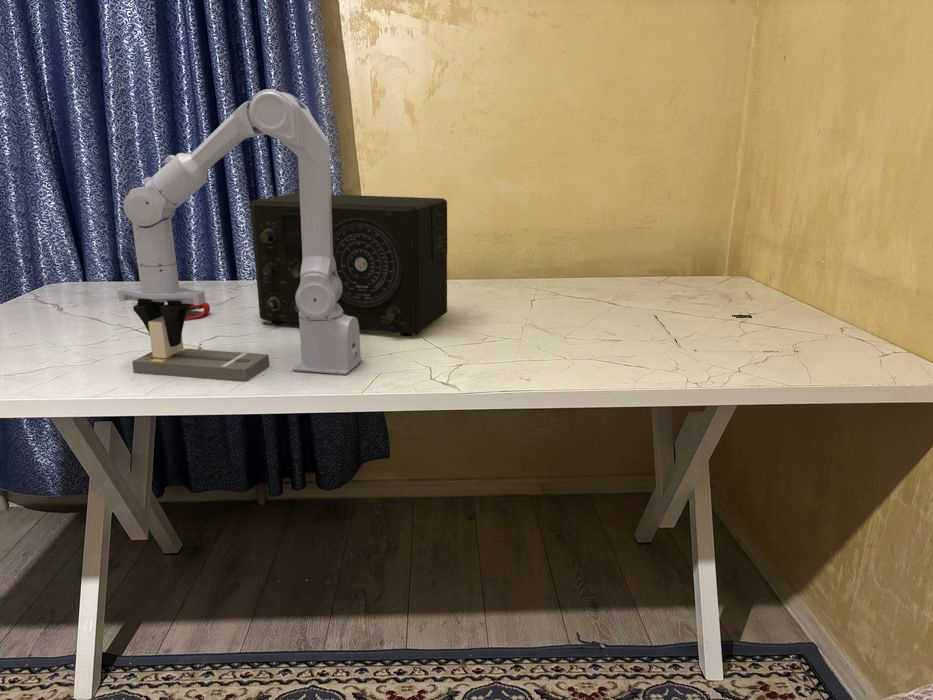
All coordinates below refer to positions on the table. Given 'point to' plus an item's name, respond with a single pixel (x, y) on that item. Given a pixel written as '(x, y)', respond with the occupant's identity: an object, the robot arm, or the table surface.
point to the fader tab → (161, 339)
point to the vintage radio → (359, 259)
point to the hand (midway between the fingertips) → (167, 344)
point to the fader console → (204, 364)
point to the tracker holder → (204, 305)
